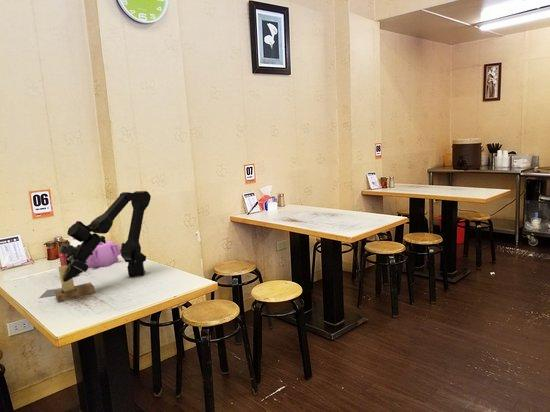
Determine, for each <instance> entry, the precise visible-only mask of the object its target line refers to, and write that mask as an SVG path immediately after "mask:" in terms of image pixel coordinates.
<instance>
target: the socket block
mask: <svg viewBox="0 0 550 412" xmlns="http://www.w3.org/2000/svg"><path fill="white" fill-rule="evenodd" d="M74 288H75V291H72V292H68V293H64V294H63V291H62V289H61V290H57V291H55V294H56V296H55V298H56V300H57V302H58V303H62V302H65V301H66V302H67V301H70V300H74V299H78V298H82V297H85V296H89V295H93V294H96V290H95V286H94V285H93V284H92V282H91V281H90V282H87V283H86V282H85V283H83V284H82V283H81V284H77V285H74Z"/></svg>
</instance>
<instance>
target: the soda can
mask: <svg viewBox="0 0 550 412" xmlns="http://www.w3.org/2000/svg"><path fill="white" fill-rule="evenodd" d="M65 255H66V254H62V253H60V252H59V254H58V257H59V258H58V259H59V263H60V267H61V266H65V265H66V260H65V258H66V257H65ZM66 259H68V257H67V258H66ZM79 275H80V274H78V275H77V276H75V277H74V278H76V277H78V276H79Z"/></svg>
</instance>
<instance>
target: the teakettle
mask: <svg viewBox="0 0 550 412" xmlns="http://www.w3.org/2000/svg"><path fill="white" fill-rule="evenodd" d="M120 250H121V247H120V243H115V242H114V240H113V241H111V240H110V241H106V243H105V244H104V243H103V242H100V243H99V245H98V246H97V247H96V249H95V250H94V251H93V255H90V257H89V258H88V259H87V261H86V262H87V263H86V264H87V265H88V269H93V268H94V269H95V268H96V269H97V268H102V267H103V268H104V267H109V266H112V265H113V264H114V263H116V262H117V261H118V259H119V258H118V257H119V256H121V252H120Z"/></svg>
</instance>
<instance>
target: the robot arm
mask: <svg viewBox="0 0 550 412" xmlns="http://www.w3.org/2000/svg"><path fill="white" fill-rule="evenodd" d="M151 198H152V196H151V194H150V193H149V191H147V190H136V191H134V192H129V191H127V192H126V191H123V192H121V193H120V194H119V195H118V197H116V199H115V201H114V202H113V203H112V204H111V205H110V206H109V207H108V208H107V209H106V211H105V212H104V213H102V214H100V215H99V216H97V217H96V218H93V220H92V221H91V222H90V223H89V224H87V225H86V224H84V223H83V222H82V221H81V220H76V221H75V223H73V224H72V225H71V226H70V227H69V228H68V229H67V235H68V236H69V237H71V238H72V239H74V240H76V241H78V242H79V243H80V244H77V245H76V246H74V245H72V244H71V245H70V244H63V243H61V245H60V248H59V254H60V253H62V254H66V255H65V257H66V258H67V257H68V259H66V258H65V260H66V265H69V267H70V269H69V270H68V272H67V274H66V276H65V278H64V280H63V281H64V282H66V281H68V280H70V279H71V278H76V277H75V276H77V275H78V274H79V275H80V274H81V273H86V272H87V271H88V270H89V268H88V265H87V264H86V263H87V262H86V261H87V259H88V258H89V257H90V255H93V251H94V250H95V249H96V247H97V246H98V245H99V243H100V242H103V243H104V244H105V243H106V242H107V240H106V236H104V234H108V233H109V232H110V230H111V229H112V227H113V223H114V220H115V219H116V217H117V216H118V215H119V214H120V213H121V212H122V210H124V208H125V207H126V206H127V205H128V203H129V202H130V203H131V206H132V213H131V220H130V226H129V230H128V235H127V240H126V241H125V242H122V243H121V247H120V252H121V254H120V256H121V258H122V259H123V260H124V263H127V273H128V276H129V278H133V277H142V276H145V273H146V270H145V265H144V264H145V263H144V262H146V261H147V256H146V255H145V254H144V253H142V251H141V250H142V247H141V244H140V236H141V230H142V226H143V220H144V214H145V210H146V209H147V208H148V206H149V204H150V202H151ZM99 234H101V235H99ZM79 275H78V276H79ZM78 276H77V277H78Z"/></svg>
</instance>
